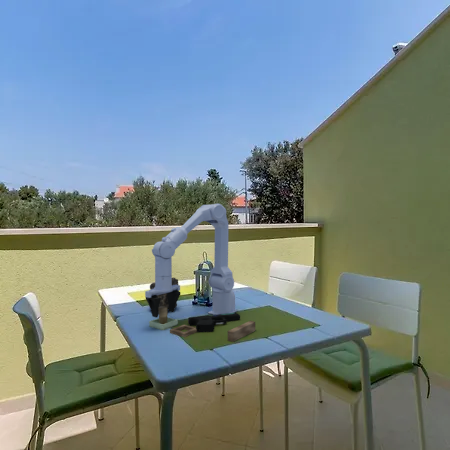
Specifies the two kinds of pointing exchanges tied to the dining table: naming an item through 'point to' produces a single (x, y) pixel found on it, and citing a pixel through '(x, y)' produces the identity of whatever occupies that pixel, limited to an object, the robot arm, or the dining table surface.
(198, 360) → the dining table surface
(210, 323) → the handgun
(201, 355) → the dining table surface
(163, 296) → the rock
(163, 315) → the dowel
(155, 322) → the tray
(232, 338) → the rail
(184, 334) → the socket
